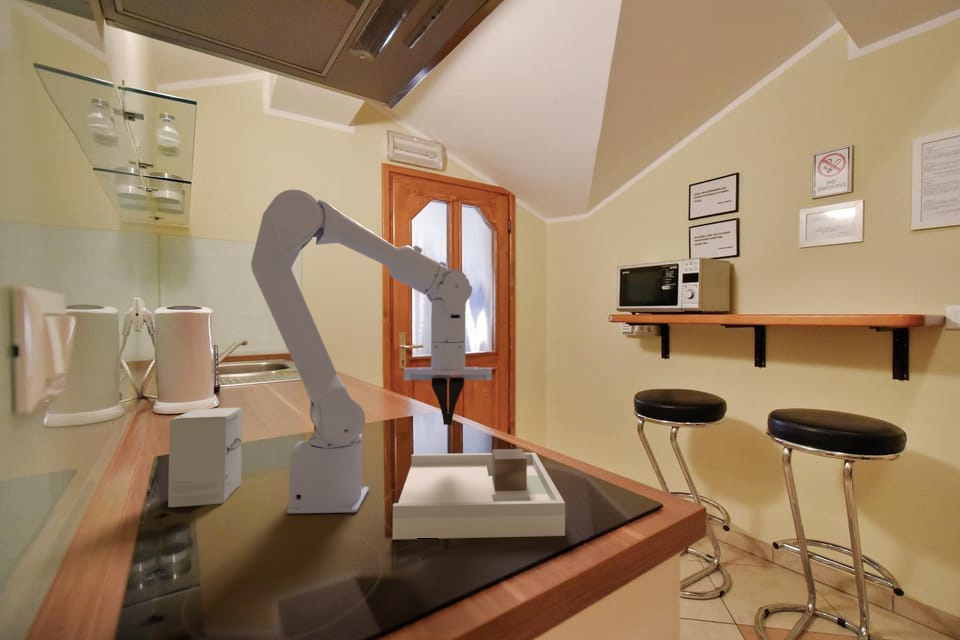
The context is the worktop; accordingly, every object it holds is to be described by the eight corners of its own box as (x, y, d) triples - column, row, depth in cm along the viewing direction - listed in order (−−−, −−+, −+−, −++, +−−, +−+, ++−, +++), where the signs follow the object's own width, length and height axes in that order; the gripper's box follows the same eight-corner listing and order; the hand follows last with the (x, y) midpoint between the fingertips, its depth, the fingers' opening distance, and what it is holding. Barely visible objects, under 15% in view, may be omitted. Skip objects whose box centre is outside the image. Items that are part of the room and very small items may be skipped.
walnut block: (494, 491, 58) (494, 459, 58) (492, 479, 62) (492, 449, 62) (526, 490, 58) (526, 458, 58) (521, 478, 63) (521, 449, 63)
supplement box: (224, 504, 59) (225, 416, 59) (166, 508, 58) (167, 418, 58) (242, 484, 67) (243, 406, 67) (191, 488, 65) (192, 408, 65)
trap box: (392, 539, 50) (392, 506, 50) (411, 477, 70) (412, 454, 70) (565, 535, 51) (565, 502, 51) (535, 476, 71) (535, 452, 71)
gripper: (401, 343, 65) (400, 429, 65) (493, 343, 65) (493, 429, 65) (407, 341, 72) (406, 419, 72) (490, 341, 72) (490, 418, 72)
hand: (447, 423), depth 69 cm, fingers closed
